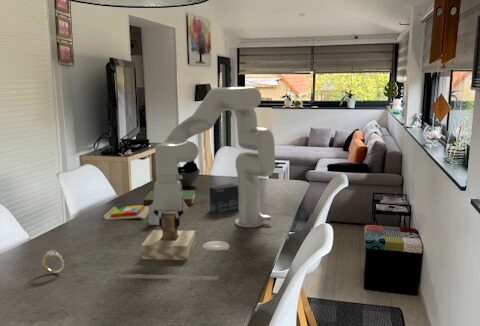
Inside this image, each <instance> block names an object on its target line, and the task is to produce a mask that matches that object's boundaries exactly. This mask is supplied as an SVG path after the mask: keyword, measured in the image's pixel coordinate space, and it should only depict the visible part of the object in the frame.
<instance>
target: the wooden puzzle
mask: <svg viewBox="0 0 480 326" xmlns="http://www.w3.org/2000/svg"><path fill="white" fill-rule="evenodd" d="M147 216H149V206H144V204H140V205H139V204H138V205H130V206H129V205H128V206H127V205H126V206H118V207H117V206H113V207H112V208H111V209H110V210H109V211H108V212H106V213H105V214H104V215H103V219H104V220H105V221H113V220H114V221H115V220H116V221H119V220H131V219H132V220H133V219H141V220H145V219H146V218H147Z"/></svg>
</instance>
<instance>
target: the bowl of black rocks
mask: <svg viewBox="0 0 480 326" xmlns="http://www.w3.org/2000/svg"><path fill="white" fill-rule="evenodd" d="M178 164H179V162H178V163H177V165H178ZM200 173H201V170H200V168H198V165H197V163H196V162H195V160H193V161H191V162H185V163H184V164H183V165H182V166H178V174H179V175H182V179H179V180H178V181H180V182H181V185H182V188H186V187H190V186H193V184H195V183H196V181H198V179H199V177H200Z"/></svg>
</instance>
